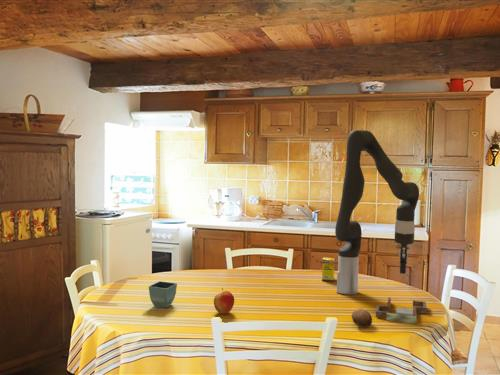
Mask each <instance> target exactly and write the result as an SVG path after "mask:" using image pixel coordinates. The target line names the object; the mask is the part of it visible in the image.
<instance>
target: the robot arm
mask: <svg viewBox="0 0 500 375" xmlns="http://www.w3.org/2000/svg"><path fill="white" fill-rule="evenodd" d="M362 152H366V153H367V154H368V155H369V156H370V157H371V158H372V159H373V160H374V163H375V167H376V170H377V172H378V173H379V175H380V176H381V178H383V179H384V181H385V182H386V183H387V185H388V188H389V189H390V190H391V191H390V192H391V193H392V195H393V196H394V197H396V199H398V200H400V201H402V202H401V204H400V205H398V206H397V208H396V213H395V214H396V215H395V216H396V217H395V225H394V243H396V244H400V246H398V252H399V254H398V259H399V265H400V266H399V273H400V274H404V275H405V274H406V271H407V270H406V269H407V264H408V262H407V260H408V259H409V253H410V247H409V246H408V245H413V244H414V242H415V228H416V227H415V215H416V214H415V212H416V211H415V210H416V208H417V206H418V205H417V204H418V202H419V197H420V188H419V185H418V184H417V183H415V182H412V181H410V182H405V181H404V180H403V173H402V171H401V170H400V169H399V168H398V167H397V166H396V165H395V163H394V162H393V161H392V160H391V159H390V157H388V155H387V153H386V152H385V151H384V149H383V148H382V146H381V145H380V142H379V141H378V140H377V138H376V137H375V135H374V134H373V133H372V132H371V131H369V130H362V129H361V130H357V129H355V130H352V131H351V132H350V133H349V134H348V136H347V141H346V159H345V161H346V162H345V169H344V170H345V171H344V178H343V184H342V193H341V198H340V199H341V200H340V207H339V212H338V214H337V215H338V216H337V218H336V219H337V220H336V224H335V228H334V229H335V230H334V231H335V232H334V233H335V234H334V235H335V237H336V239H337V241H339V242H341V243H342V242H343V243H344V242H345V244H344V245H343V246H341V247H340V248H339V249H338V256H337V258H338V261H337V273H336V275H337V276H336V293H339V294H342V295H351V296H352V295H358V290H359V287H358V286H359V262H360V261H359V259H360V256H359V255H360V252H361V246H362V227H361V224H360V223H359V222H358V221H355V220H351V218H352V214H353V213H354V210H355V209H356V207H357V206H358V204H359V202H361V200H362V197H363V195H364V189H365V182H366V181H365V177H364V173H363V171H362V166H361V154H362Z"/></svg>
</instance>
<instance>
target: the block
mask: <svg viewBox="0 0 500 375" xmlns="http://www.w3.org/2000/svg"><path fill="white" fill-rule="evenodd" d="M395 311H396V312H395V314H399V315H408V316H413V308H404V307H396V309H395Z"/></svg>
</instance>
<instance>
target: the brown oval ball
mask: <svg viewBox="0 0 500 375" xmlns="http://www.w3.org/2000/svg"><path fill="white" fill-rule="evenodd" d="M351 319H352V322H353V323H354V324H355V325H357V326H358V327H359V328H362V329H363V328H364V329H366V328H369V327H371V325H372V324H373V318H372V315H371V314H370V312H369V311H367V310H366V309H365V308H356V309H355V310H353V311H352V313H351Z"/></svg>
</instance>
